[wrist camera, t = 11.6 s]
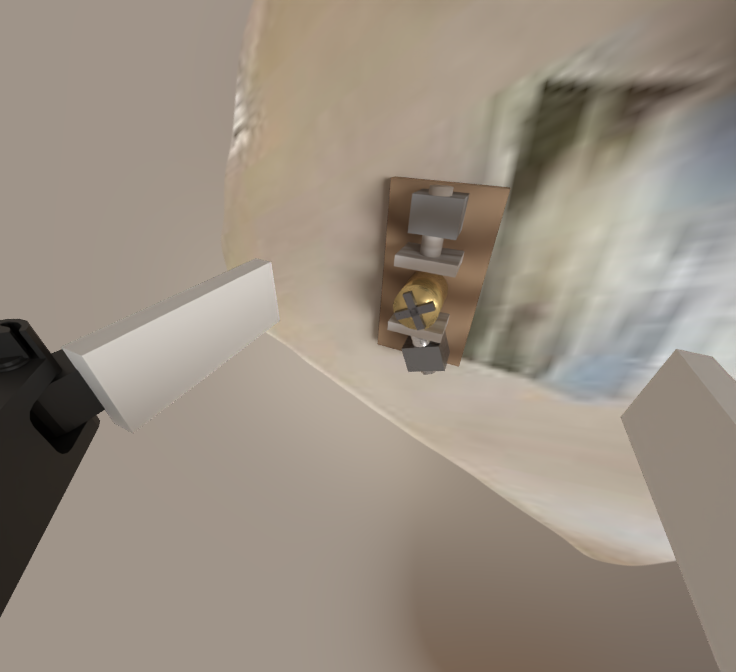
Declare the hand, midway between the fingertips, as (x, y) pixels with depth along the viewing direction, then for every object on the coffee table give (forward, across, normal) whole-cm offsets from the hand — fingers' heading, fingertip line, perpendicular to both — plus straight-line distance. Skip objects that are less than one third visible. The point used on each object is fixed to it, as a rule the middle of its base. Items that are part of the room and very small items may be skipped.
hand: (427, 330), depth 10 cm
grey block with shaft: (+25, -3, -17) cm, 30 cm away
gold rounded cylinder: (+25, -4, -10) cm, 27 cm away
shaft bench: (+26, -4, -9) cm, 28 cm away
